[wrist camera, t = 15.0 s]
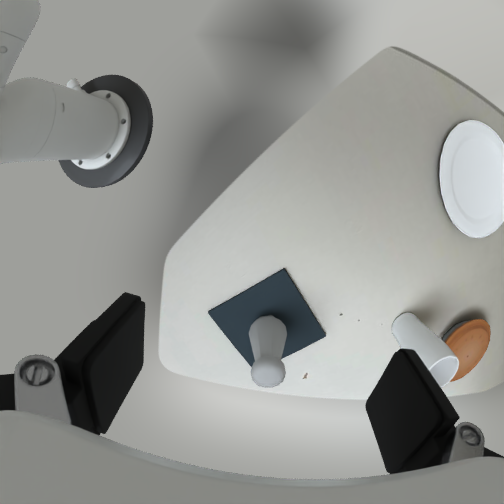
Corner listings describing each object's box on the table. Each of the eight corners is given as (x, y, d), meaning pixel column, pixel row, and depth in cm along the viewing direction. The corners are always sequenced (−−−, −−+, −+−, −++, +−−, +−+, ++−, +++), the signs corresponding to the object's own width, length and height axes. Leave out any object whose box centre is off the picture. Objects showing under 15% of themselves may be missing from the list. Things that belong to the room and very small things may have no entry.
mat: (208, 310, 45) (207, 312, 44) (284, 268, 42) (284, 269, 42) (255, 369, 48) (254, 371, 47) (325, 334, 45) (326, 336, 45)
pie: (489, 305, 43) (502, 316, 38) (470, 364, 47) (480, 375, 42) (437, 317, 44) (449, 330, 39) (419, 379, 48) (428, 393, 43)
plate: (413, 174, 37) (418, 174, 35) (469, 98, 32) (475, 97, 30) (472, 259, 40) (477, 261, 38) (519, 183, 35) (525, 184, 33)
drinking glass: (397, 303, 43) (439, 352, 29) (425, 312, 43) (467, 357, 29) (380, 336, 45) (412, 391, 31) (407, 342, 45) (442, 393, 31)
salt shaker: (258, 345, 46) (255, 399, 33) (243, 318, 44) (235, 369, 32) (291, 333, 45) (298, 386, 32) (277, 304, 43) (281, 354, 31)
